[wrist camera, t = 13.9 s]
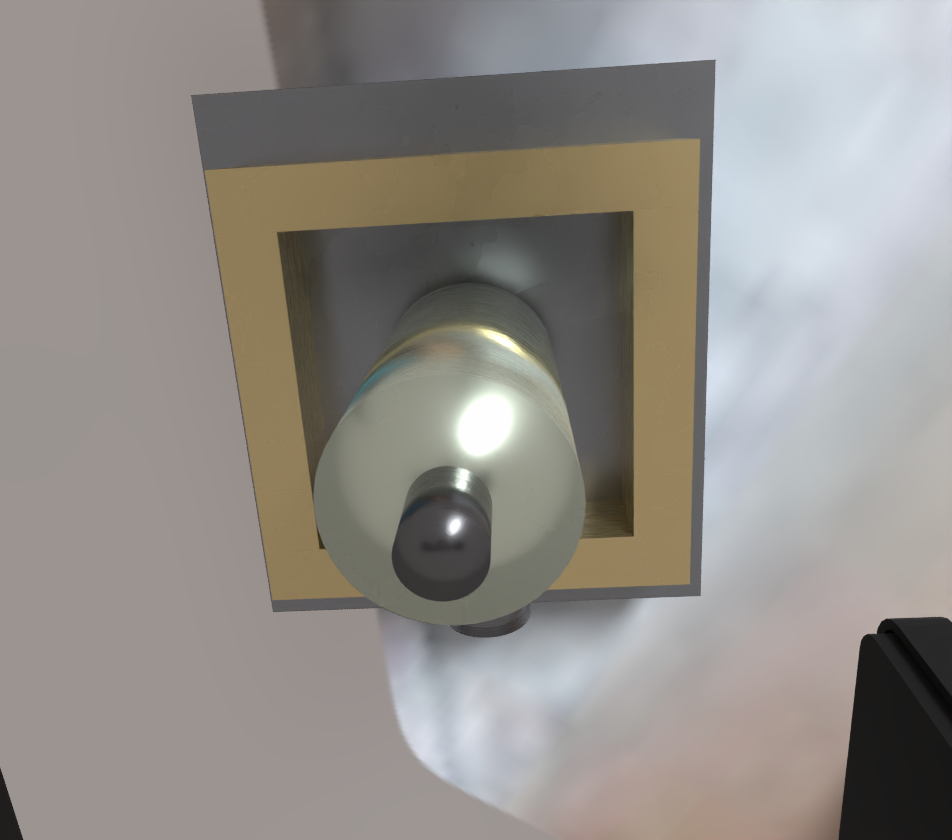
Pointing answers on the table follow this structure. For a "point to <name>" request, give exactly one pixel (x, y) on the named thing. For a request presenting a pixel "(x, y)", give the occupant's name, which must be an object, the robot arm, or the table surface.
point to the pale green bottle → (454, 464)
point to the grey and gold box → (484, 262)
